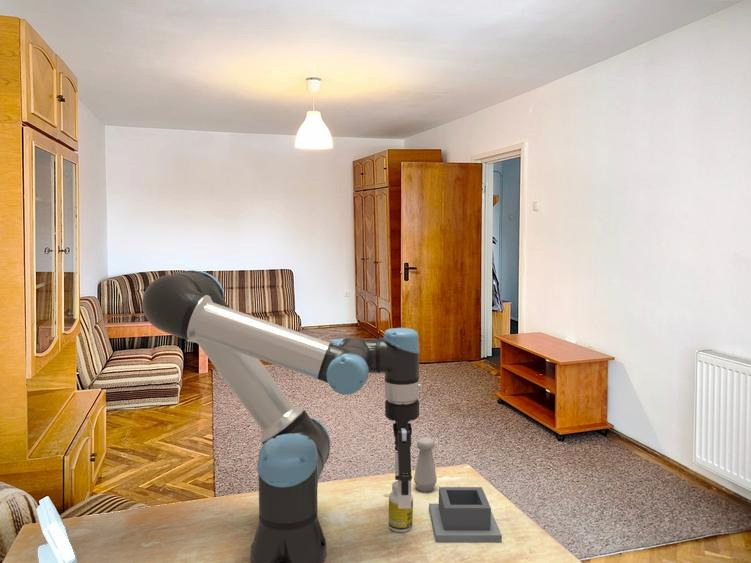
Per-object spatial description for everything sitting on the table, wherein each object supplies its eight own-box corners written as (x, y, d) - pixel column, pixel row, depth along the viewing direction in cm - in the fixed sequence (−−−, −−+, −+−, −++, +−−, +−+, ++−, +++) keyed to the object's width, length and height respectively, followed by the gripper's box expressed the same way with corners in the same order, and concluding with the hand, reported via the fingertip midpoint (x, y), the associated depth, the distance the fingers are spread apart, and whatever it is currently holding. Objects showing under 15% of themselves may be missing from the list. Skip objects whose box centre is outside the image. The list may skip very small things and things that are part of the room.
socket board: (435, 542, 120) (436, 512, 119) (428, 509, 134) (429, 483, 133) (501, 542, 120) (502, 512, 119) (487, 509, 134) (488, 483, 133)
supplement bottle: (410, 534, 123) (411, 491, 122) (386, 531, 124) (386, 488, 123) (414, 521, 128) (414, 480, 127) (390, 519, 129) (391, 478, 128)
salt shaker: (440, 486, 146) (441, 438, 145) (430, 495, 141) (431, 445, 140) (420, 481, 149) (420, 433, 148) (409, 489, 144) (410, 440, 143)
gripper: (424, 417, 111) (425, 521, 113) (414, 383, 136) (415, 468, 138) (386, 418, 111) (387, 521, 113) (383, 384, 136) (384, 469, 138)
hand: (402, 492), depth 125 cm, fingers open, 13 cm apart
